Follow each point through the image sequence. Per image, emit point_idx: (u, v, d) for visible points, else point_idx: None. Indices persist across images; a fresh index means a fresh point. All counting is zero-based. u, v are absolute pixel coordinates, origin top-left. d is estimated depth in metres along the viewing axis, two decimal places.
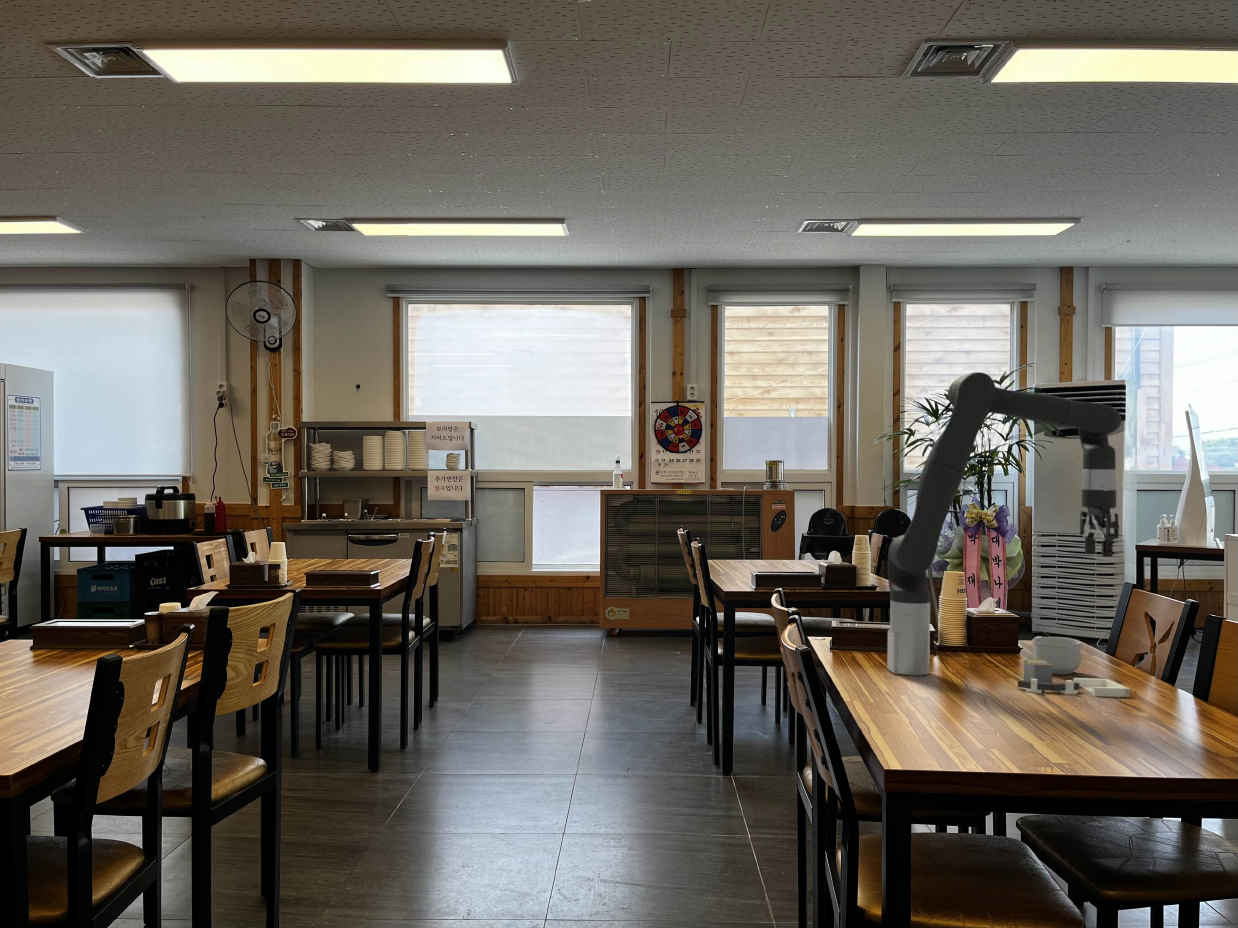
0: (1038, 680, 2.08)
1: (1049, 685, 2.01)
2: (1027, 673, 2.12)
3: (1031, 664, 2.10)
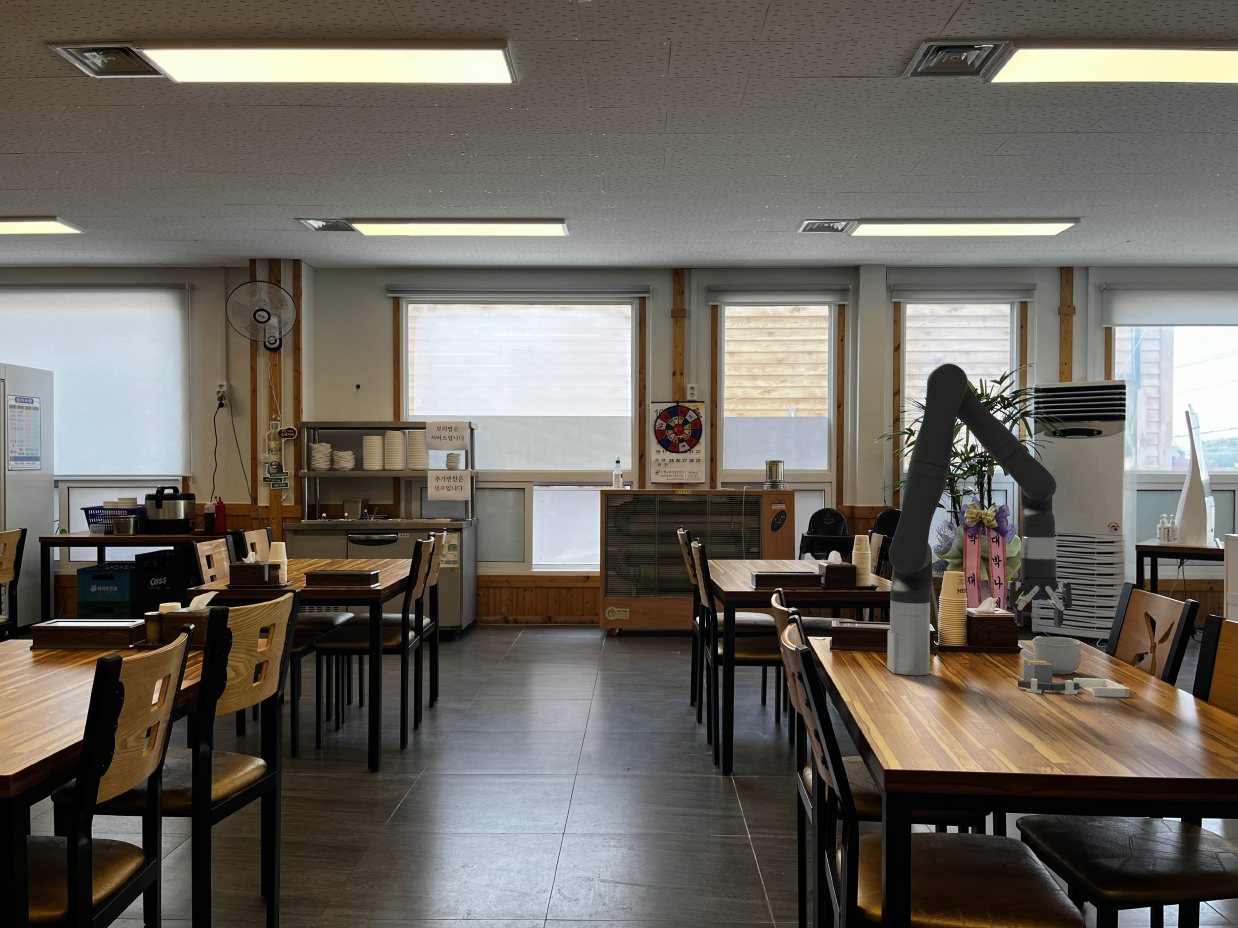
0: (1038, 680, 2.08)
1: (1049, 685, 2.01)
2: (1027, 673, 2.12)
3: (1031, 664, 2.10)
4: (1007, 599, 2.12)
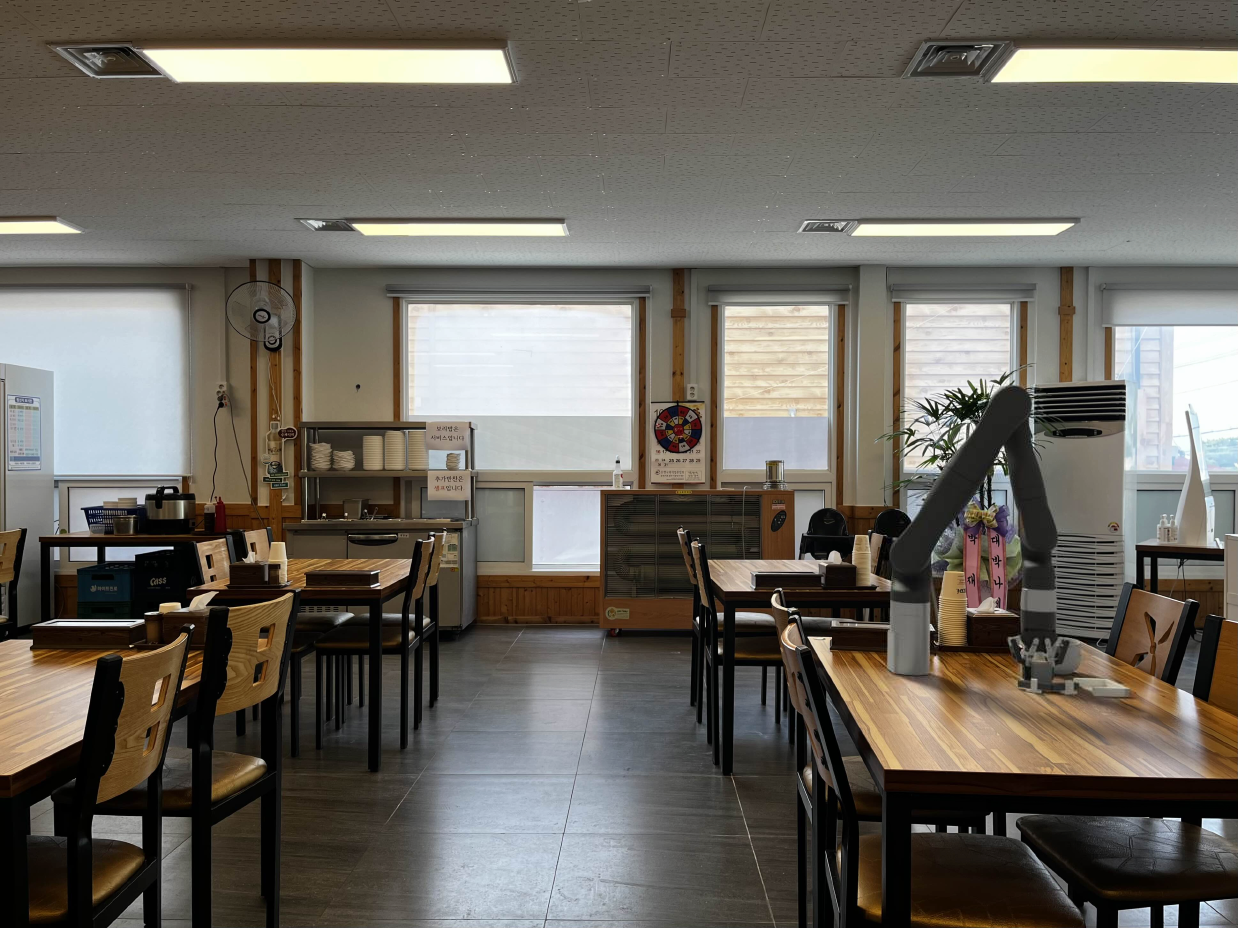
0: (1038, 680, 2.08)
1: (1049, 685, 2.01)
2: None
3: (1031, 664, 2.10)
4: (1014, 655, 2.12)
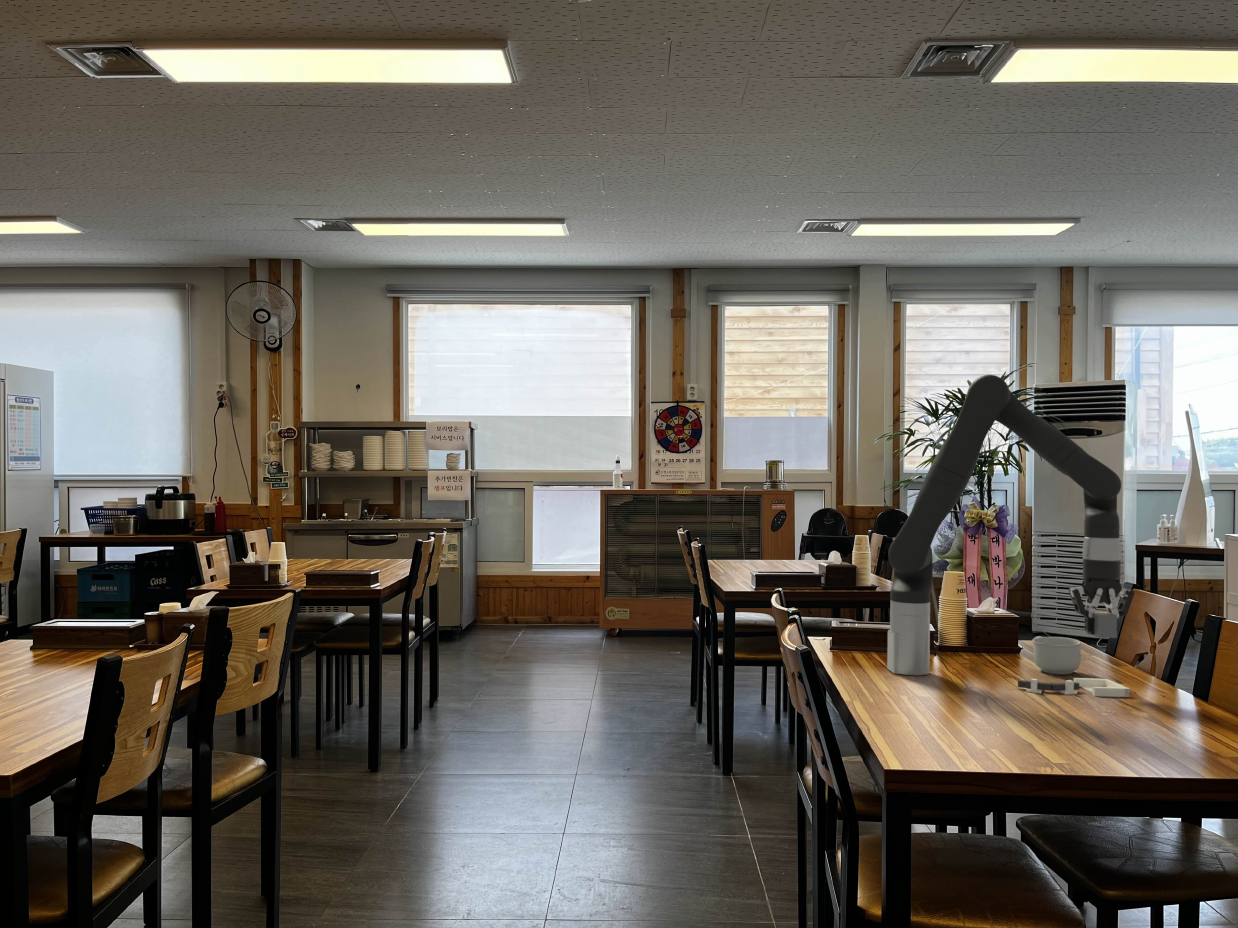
0: (1102, 631, 2.01)
1: (1049, 685, 2.01)
2: None
3: (1094, 615, 2.03)
4: (1076, 607, 2.05)
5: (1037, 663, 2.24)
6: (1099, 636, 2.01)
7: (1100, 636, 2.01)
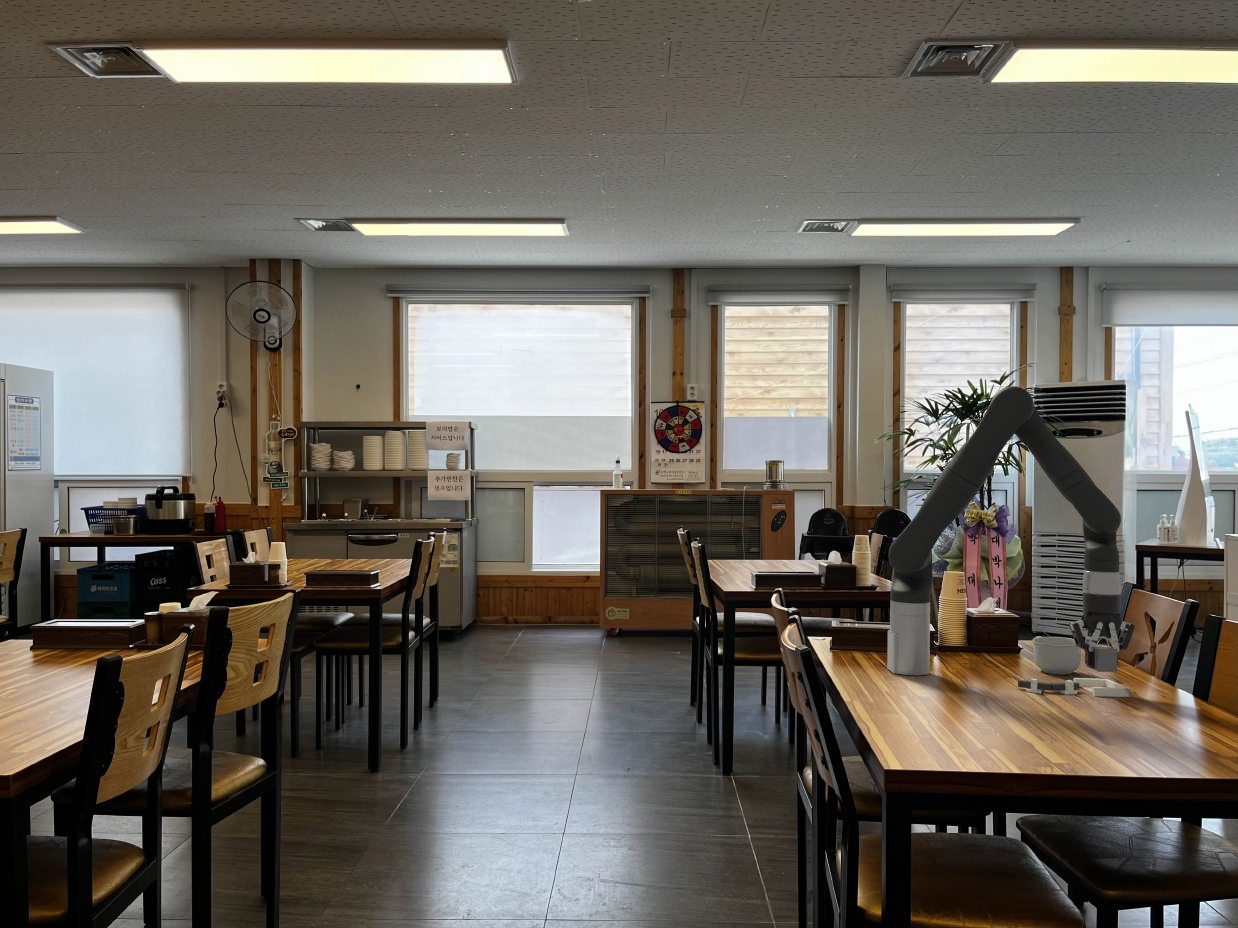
0: (1103, 666, 2.00)
1: (1049, 685, 2.01)
2: None
3: (1095, 649, 2.02)
4: (1076, 640, 2.05)
5: (1037, 663, 2.24)
6: (1099, 670, 2.00)
7: (1100, 670, 2.00)
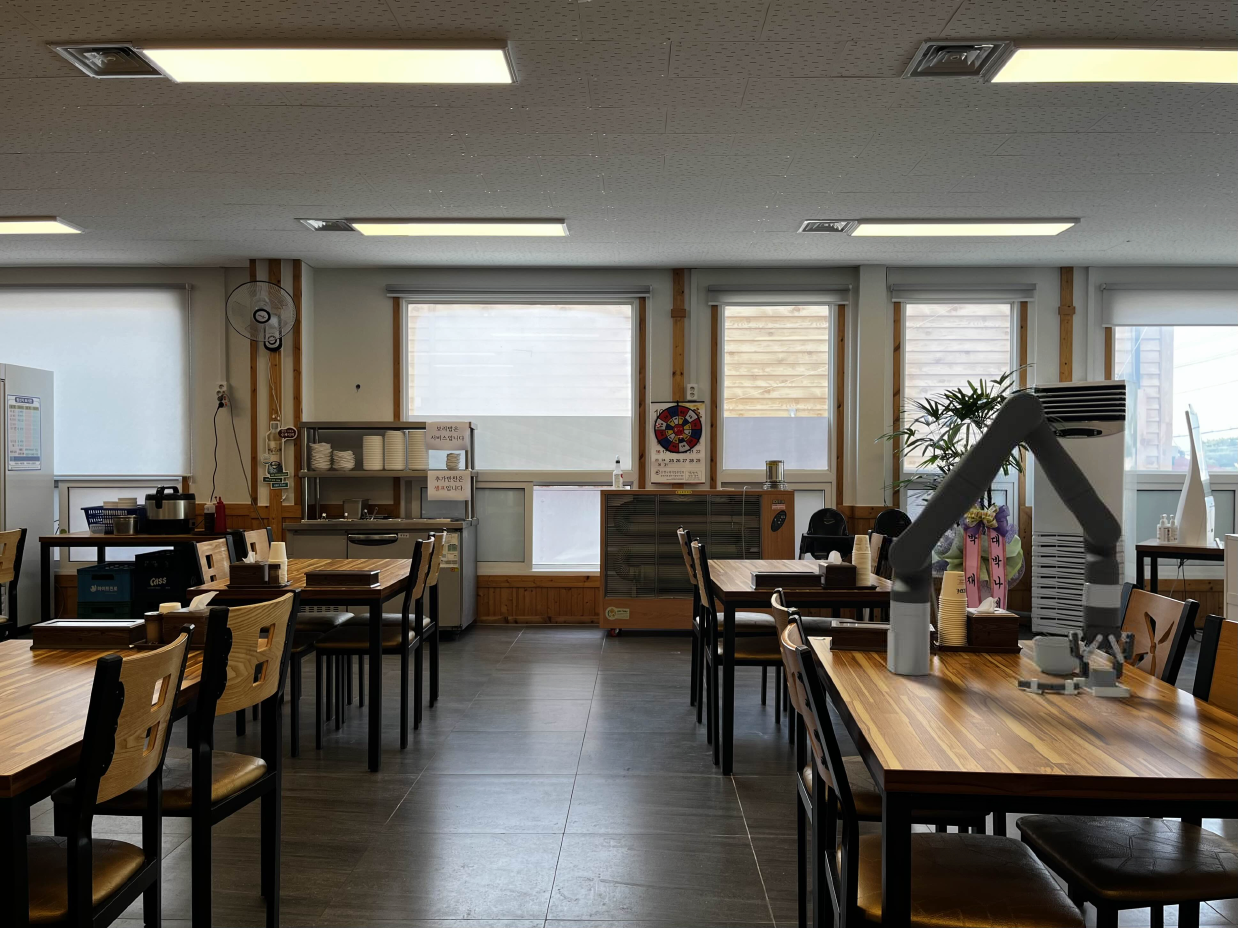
0: None
1: (1049, 685, 2.01)
2: (1088, 679, 2.05)
3: (1094, 670, 2.02)
4: (1071, 650, 2.05)
5: (1037, 663, 2.24)
6: None
7: None
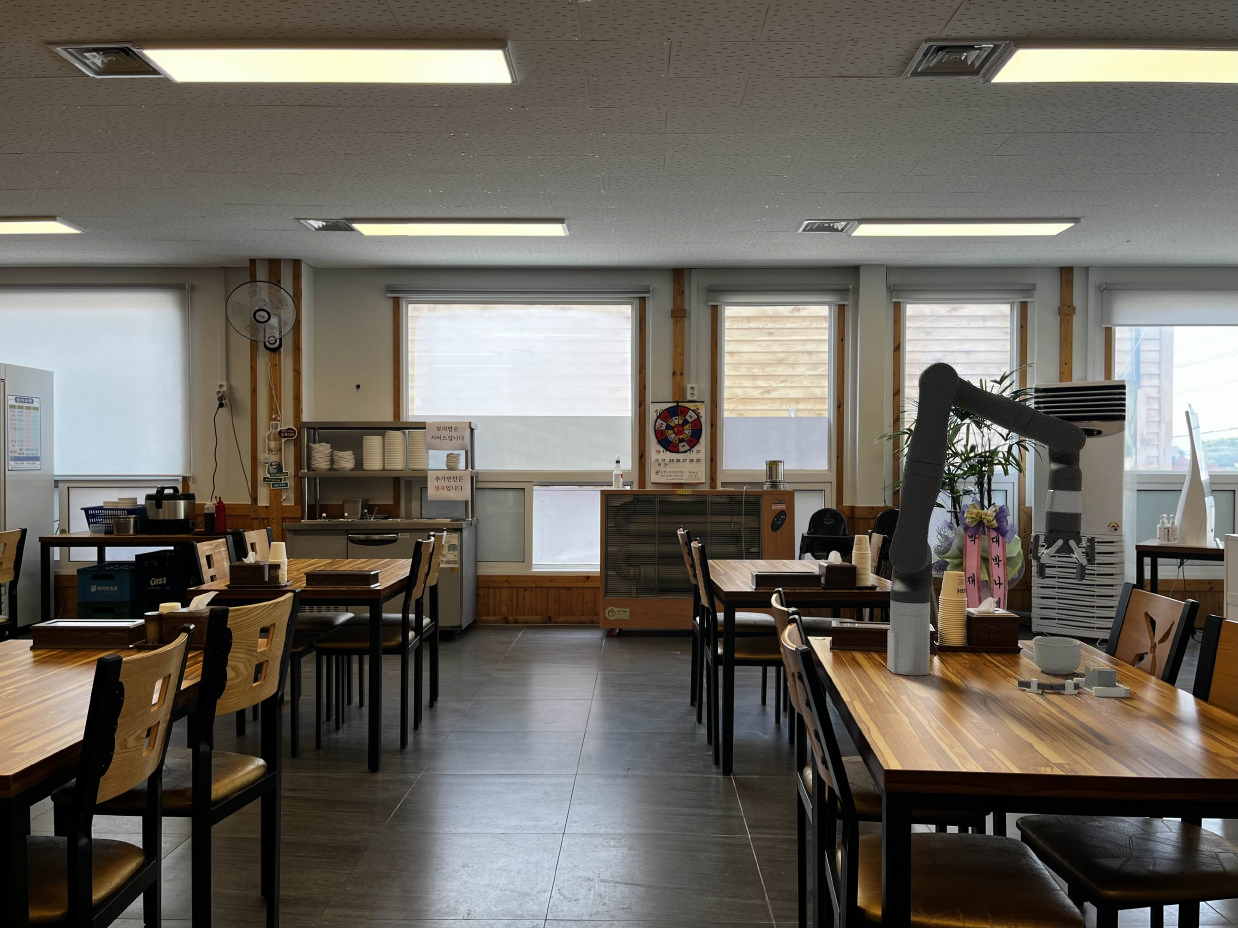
0: None
1: (1049, 685, 2.01)
2: (1088, 679, 2.05)
3: (1094, 670, 2.02)
4: (1030, 552, 2.12)
5: (1037, 663, 2.24)
6: None
7: None
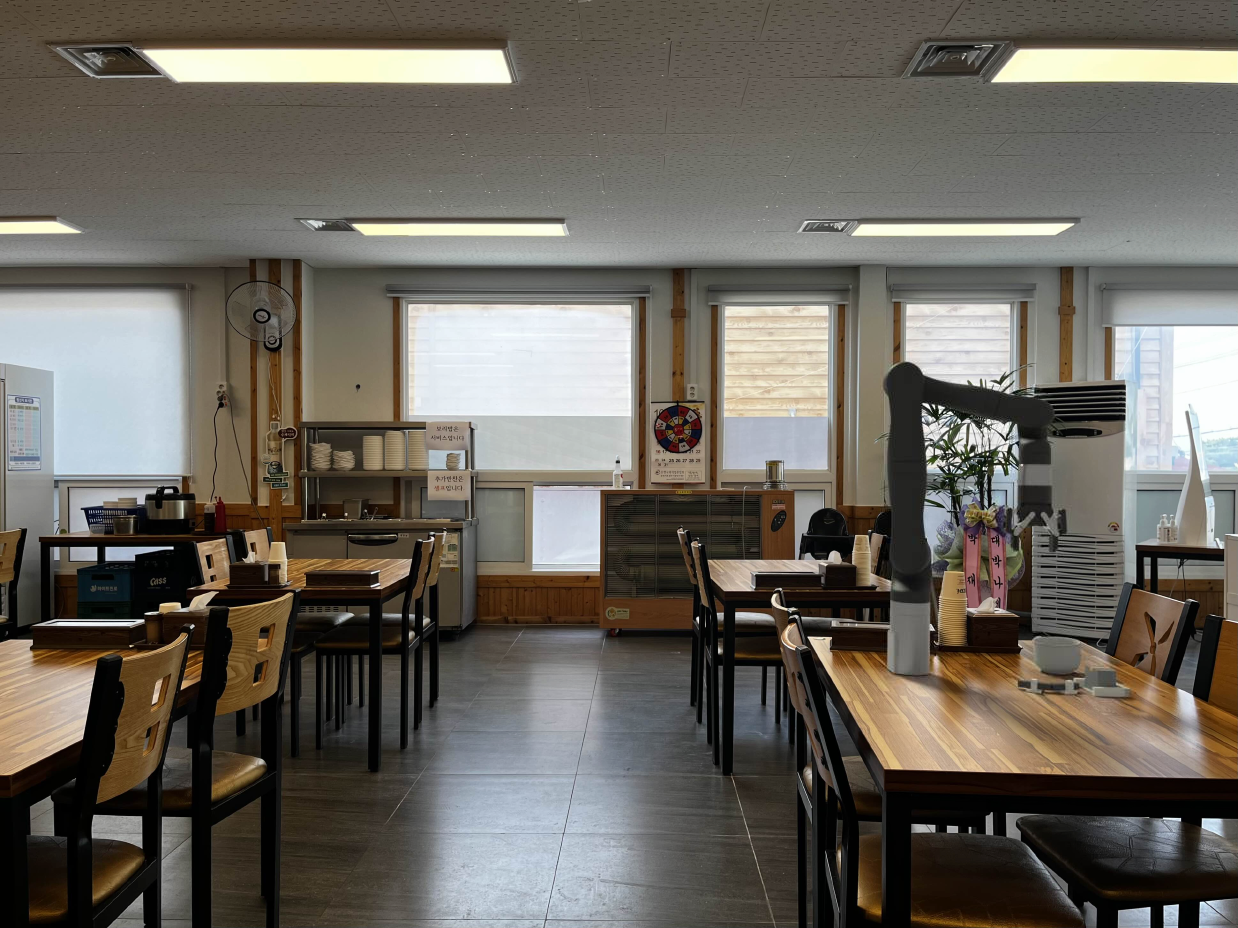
0: None
1: (1049, 685, 2.01)
2: (1088, 679, 2.05)
3: (1094, 670, 2.02)
4: (1004, 525, 2.18)
5: (1037, 663, 2.24)
6: None
7: None
